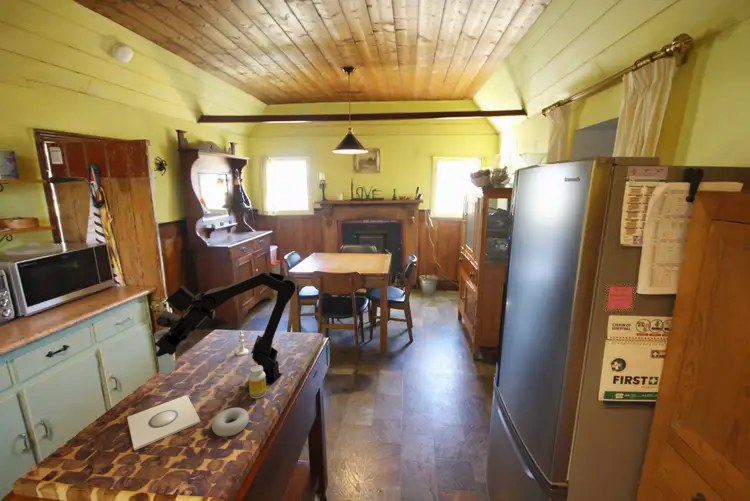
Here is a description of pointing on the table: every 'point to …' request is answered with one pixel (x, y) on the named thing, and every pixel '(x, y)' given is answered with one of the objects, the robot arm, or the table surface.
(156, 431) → the card
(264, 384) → the supplement bottle
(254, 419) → the table surface
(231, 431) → the donut
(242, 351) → the chess piece
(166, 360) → the tube
